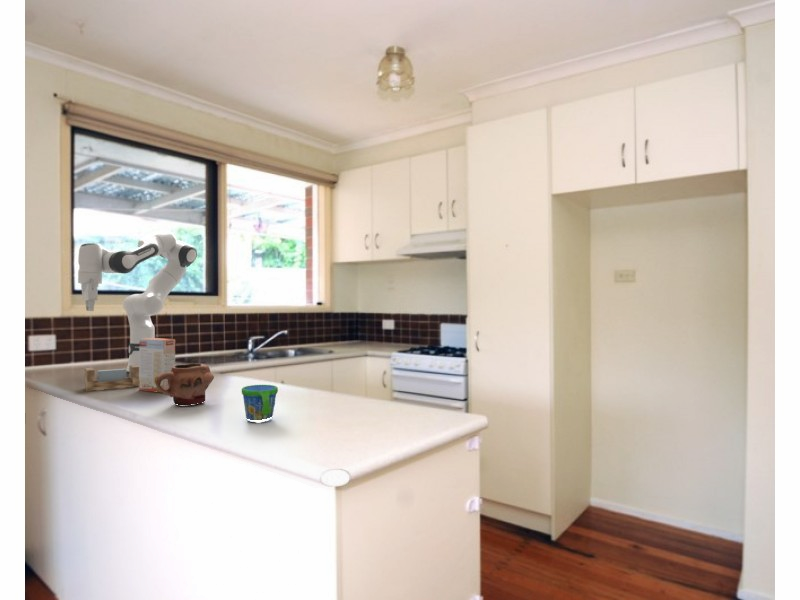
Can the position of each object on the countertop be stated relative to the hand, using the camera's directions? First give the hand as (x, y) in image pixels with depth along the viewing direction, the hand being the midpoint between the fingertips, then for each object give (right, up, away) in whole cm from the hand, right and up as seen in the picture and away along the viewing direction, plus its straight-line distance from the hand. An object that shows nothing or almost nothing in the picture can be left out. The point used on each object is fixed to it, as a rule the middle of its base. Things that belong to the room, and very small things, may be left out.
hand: (89, 310), depth 213 cm
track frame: (+18, -31, -13) cm, 39 cm away
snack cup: (+94, -32, -66) cm, 119 cm away
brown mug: (+62, -32, -45) cm, 83 cm away
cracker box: (+39, -32, -19) cm, 54 cm away
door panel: (+18, -30, -13) cm, 37 cm away
